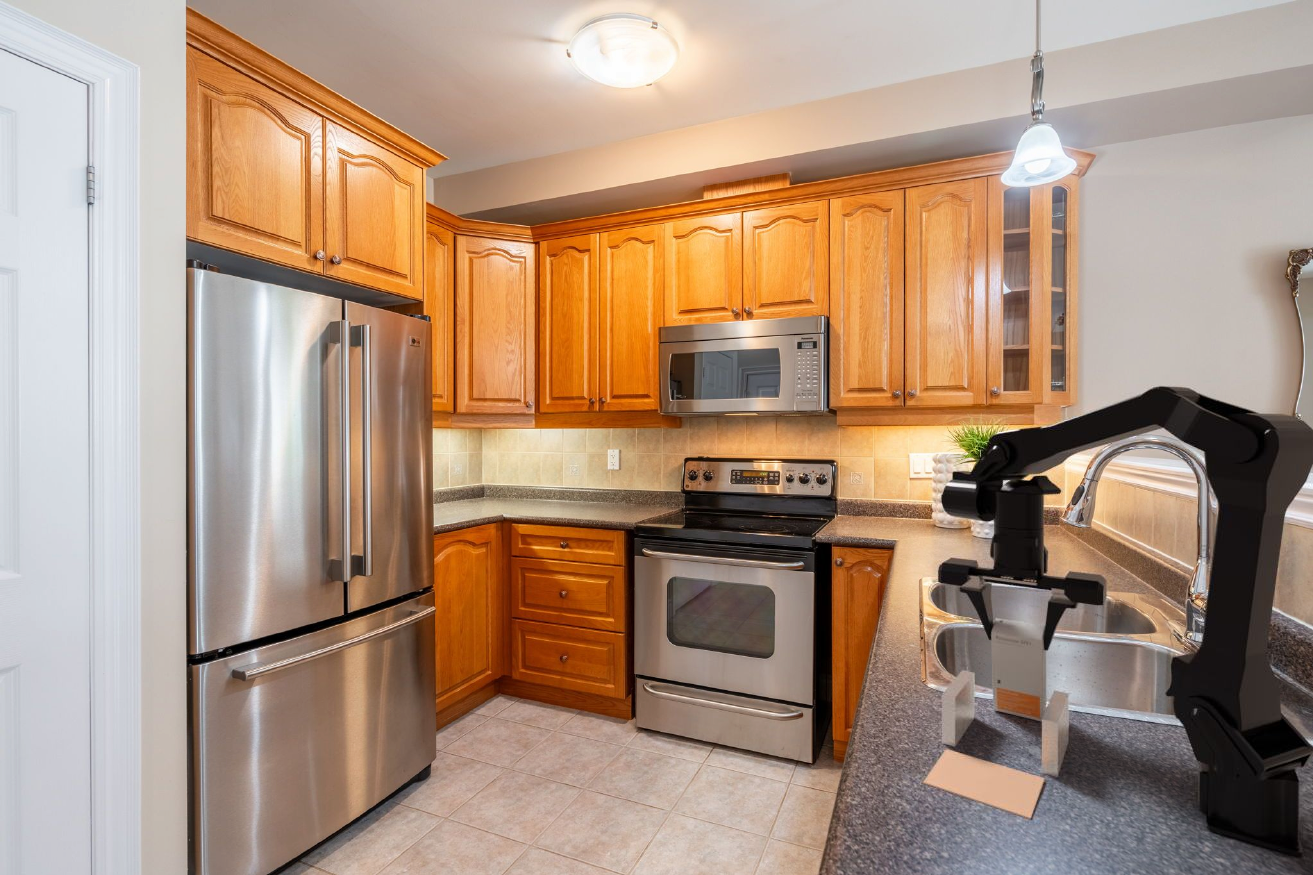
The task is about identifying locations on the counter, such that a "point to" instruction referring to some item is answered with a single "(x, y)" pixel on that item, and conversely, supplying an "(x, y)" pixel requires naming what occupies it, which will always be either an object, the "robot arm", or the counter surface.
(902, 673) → the counter surface
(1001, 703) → the skincare box
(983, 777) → the tile
